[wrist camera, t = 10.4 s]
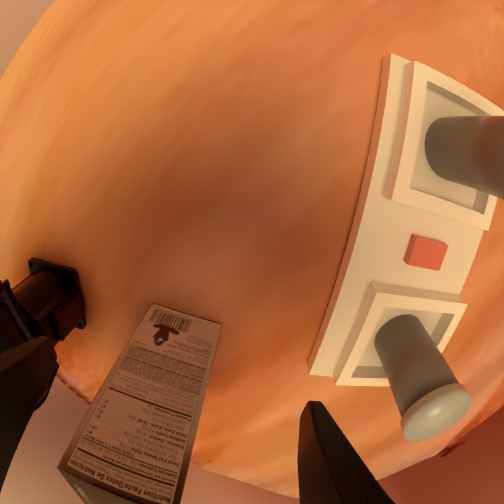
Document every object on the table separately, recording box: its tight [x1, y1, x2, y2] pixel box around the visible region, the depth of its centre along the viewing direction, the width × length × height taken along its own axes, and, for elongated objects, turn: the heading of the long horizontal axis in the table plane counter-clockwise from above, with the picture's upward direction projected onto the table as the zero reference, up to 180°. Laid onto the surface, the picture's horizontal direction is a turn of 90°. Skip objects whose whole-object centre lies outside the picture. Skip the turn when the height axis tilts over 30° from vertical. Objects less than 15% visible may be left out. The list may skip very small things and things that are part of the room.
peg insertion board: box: [308, 53, 504, 441], centre depth 14 cm, size 11×25×10 cm, turn 171°
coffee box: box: [57, 304, 222, 504], centre depth 17 cm, size 9×6×16 cm
